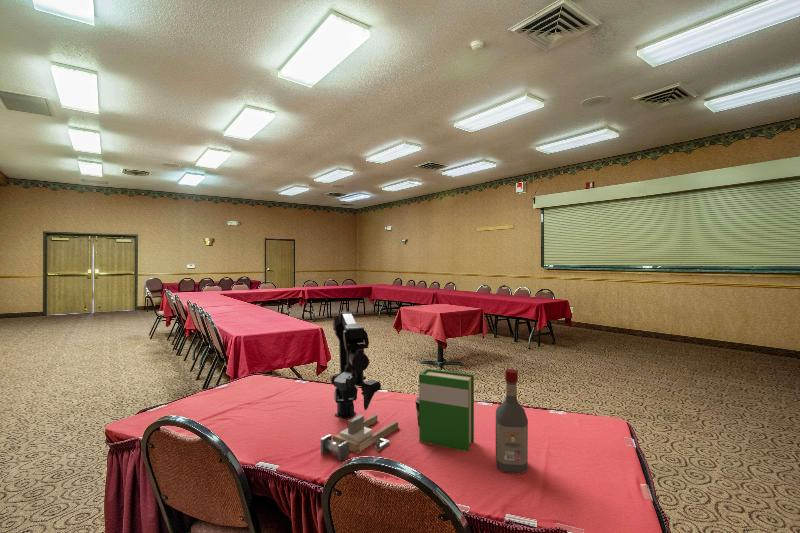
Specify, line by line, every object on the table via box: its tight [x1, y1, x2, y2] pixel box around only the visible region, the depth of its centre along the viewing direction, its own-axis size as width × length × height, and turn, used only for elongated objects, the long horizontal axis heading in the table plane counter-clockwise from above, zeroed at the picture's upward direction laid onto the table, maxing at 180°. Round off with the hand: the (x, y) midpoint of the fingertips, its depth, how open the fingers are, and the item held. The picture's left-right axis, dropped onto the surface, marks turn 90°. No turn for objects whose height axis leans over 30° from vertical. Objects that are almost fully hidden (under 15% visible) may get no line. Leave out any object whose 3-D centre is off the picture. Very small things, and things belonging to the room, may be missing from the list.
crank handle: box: [375, 437, 390, 452], centre depth 135 cm, size 6×4×3 cm
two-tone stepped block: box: [339, 414, 373, 443], centre depth 138 cm, size 8×8×8 cm
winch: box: [320, 433, 350, 462], centre depth 129 cm, size 9×4×5 cm, turn 54°
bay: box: [332, 413, 399, 454], centre depth 143 cm, size 11×23×3 cm, turn 144°
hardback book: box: [418, 368, 475, 453], centre depth 137 cm, size 18×7×24 cm, turn 65°
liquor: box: [495, 368, 529, 474], centre depth 122 cm, size 9×9×30 cm
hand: (355, 406), depth 137 cm, fingers open, 9 cm apart
